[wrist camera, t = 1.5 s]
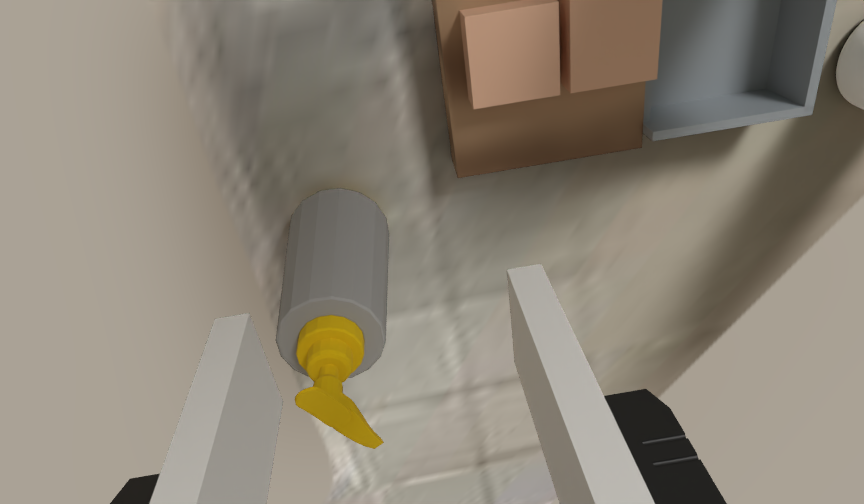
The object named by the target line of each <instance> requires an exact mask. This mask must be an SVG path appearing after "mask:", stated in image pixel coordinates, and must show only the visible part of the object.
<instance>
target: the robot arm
mask: <svg viewBox="0 0 864 504" xmlns="http://www.w3.org/2000/svg"><path fill="white" fill-rule="evenodd" d="M507 277H508V289H509V301H510V313H511V326H512V338H513V350H514V362H515V365H516V368H517V371H518V374H519V378H520V381H521V384H522V387H523V390H524V393H525V396H526V400H527V403H528V406H529V409H530V412H531V415H532V418H533V422H534V425H535V428H536V431H537V434H538V437H539V440H540V443H541V447H542V450H543V453H544V456H545V459H546V462H547V465H548V469H549V472H550V475H551V478H552V481H553V484H554V487H555V491H556V494H557V497H558V500H559V503H560V504H726V502H725V500H724V499H723V497H722V495H721V494H720V492H719V490H718V488H717V487H716V485H715V483H714V482H713V480H712V478H711V477H710V475H709V473H708V472H707V470H706V468H705V467H704V465H703V463H702V462H701V460H699V459H698V456H697V453H696V452H695V450H694V448H693V446H692V445H691V443H690V441H689V439H686V437H685V433H684V431H683V429H682V428H681V426H680V424H679V423H678V421H677V419H676V418H675V416H674V414H673V412H672V411H671V409H670V408H669V407H668V406H667V405H665V404H664V403H663V402H662V401H660V400H659V399H658V398H657V397H655V396H654V395H653V394H652V393H651V392H649V391H648V390H647V389H643V390H637V391H631V392H625V393H619V394H613V395H607V396H604V395H603V393H602V391H601V389H600V387H599V385H598V383H597V381H596V378H595V376H594V374H593V372H592V370H591V368H590V366H589V364H588V362H587V360H586V357H585V355H584V353H583V351H582V349H581V347H580V345H579V343H578V341H577V338H576V336H575V334H574V332H573V330H572V328H571V326H570V324H569V322H568V320H567V317H566V315H565V313H564V311H563V309H562V307H561V305H560V303H559V301H558V298H557V296H556V294H555V292H554V290H553V288H552V286H551V284H550V282H549V280H548V277H547V275H546V273H545V271H544V269H543V267H542V265H541V264H537V265H531V266H525V267H519V268H513V269H507ZM282 405H283V400H282V397H281V395H280V392H279V389H278V387H277V384H276V381H275V379H274V376H273V373H272V371H271V368H270V366H269V363H268V360H267V358H266V355H265V352H264V350H263V347H262V345H261V342H260V339H259V337H258V334H257V332H256V329H255V326H254V324H253V321H252V319H251V316H250V313H246V314H240V315H234V316H228V317H222V318H216V319H215V320H214V323H213V325H212V328H211V331H210V334H209V337H208V340H207V342H206V345H205V348H204V351H203V354H202V357H201V359H200V362H199V365H198V368H197V371H196V374H195V376H194V379H193V382H192V385H191V388H190V390H189V393H188V396H187V399H186V402H185V405H184V408H183V410H182V413H181V416H180V419H179V421H178V424H177V427H176V430H175V433H174V436H173V438H172V441H171V444H170V447H169V450H168V452H167V455H166V458H165V461H164V464H163V467H162V469H161V472H160V474H155V475H150V476H144V477H138V478H132V479H129V481H128V482H127V483H126V484H125V486H124V487H123V488H122V490H121V491H120V492H119V493H118V494H117V496H116V497H115V498H114V499H113V501H112V502H111V503H110V504H266V503H267V497H268V491H269V485H270V479H271V473H272V466H273V460H274V454H275V447H276V441H277V436H278V429H279V423H280V417H281V411H282Z"/></svg>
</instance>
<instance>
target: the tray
mask: <svg viewBox="0 0 864 504" xmlns="http://www.w3.org/2000/svg"><path fill="white" fill-rule="evenodd" d="M836 2H837V0H663V1H662V16H661V30H660V45H659V60H658V74H657V79H655V80H649V81H646V83H645V101H644V118H643V134H645V135H646V136H647V137H648V138H649V139H650V140H651V141H657V140H663V139H669V138H675V137H682V136H688V135H694V134H700V133H706V132H712V131H718V130H724V129H730V128H736V127H742V126H748V125H754V124H760V123H766V122H772V121H778V120H784V119H790V118H796V117H802V116H808V115H812V113H813V109H814V104H815V99H816V95H817V90H818V86H819V81H820V76H821V72H822V67H823V62H824V58H825V53H826V48H827V44H828V39H829V35H830V30H831V25H832V21H833V16H834V11H835V7H836Z"/></svg>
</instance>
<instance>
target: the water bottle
mask: <svg viewBox="0 0 864 504" xmlns="http://www.w3.org/2000/svg"><path fill="white" fill-rule="evenodd" d="M836 80H837V85H838V88H839V91H840V93H841V94H842V96H843V97H844V98H845V99H846V100H847V101H848V102H850V103H851V104H853V105H854V106H856V107H859V108H861V109H863V110H864V21H863V22H862V23H861V24H860V25H859V26H858V27H857V28H856V29H855V30H854V31H853V33H852V34H851V35H850V37H849V38H848V40H847V41H846V43H845V45H844V47H843V49H842V51H841V53H840V56H839V59H838V63H837V69H836Z"/></svg>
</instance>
